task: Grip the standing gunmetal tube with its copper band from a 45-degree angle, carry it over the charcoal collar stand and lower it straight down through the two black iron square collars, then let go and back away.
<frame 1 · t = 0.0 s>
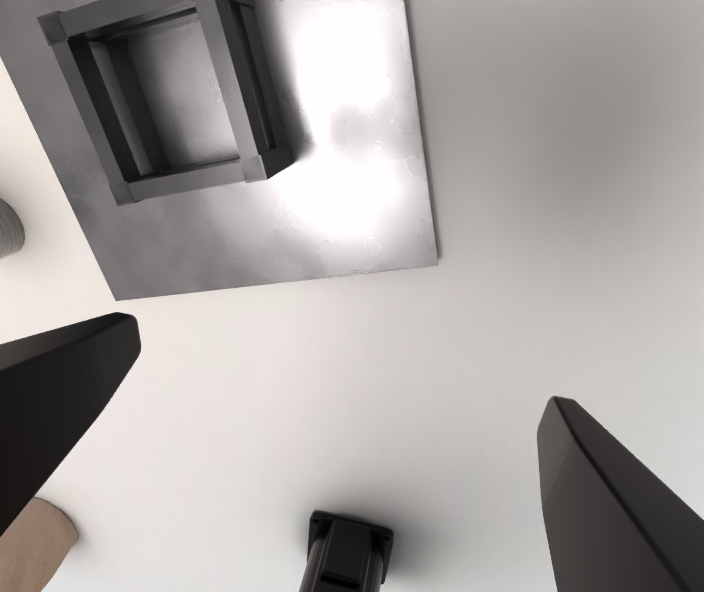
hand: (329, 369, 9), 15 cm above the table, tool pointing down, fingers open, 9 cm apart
collar stand: (208, 95, 22), on the table
figurine: (43, 518, 43), on the table
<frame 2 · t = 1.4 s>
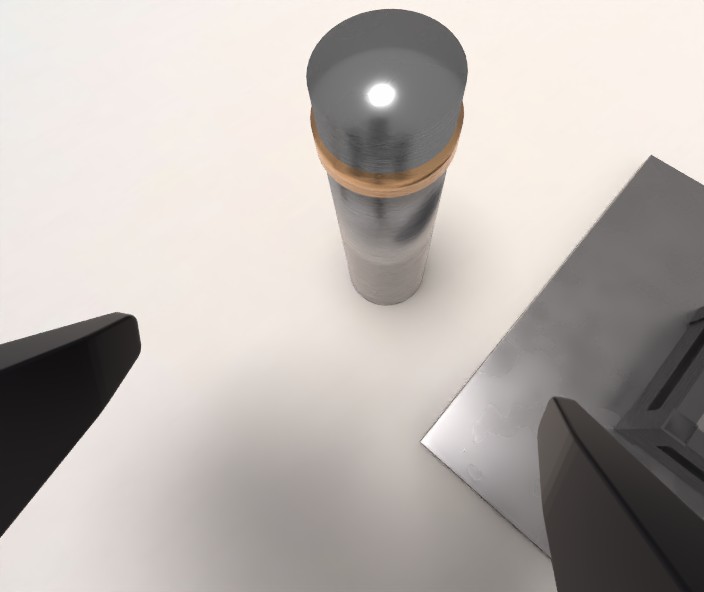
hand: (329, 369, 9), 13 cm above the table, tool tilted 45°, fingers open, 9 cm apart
air tube: (386, 270, 24), on the table
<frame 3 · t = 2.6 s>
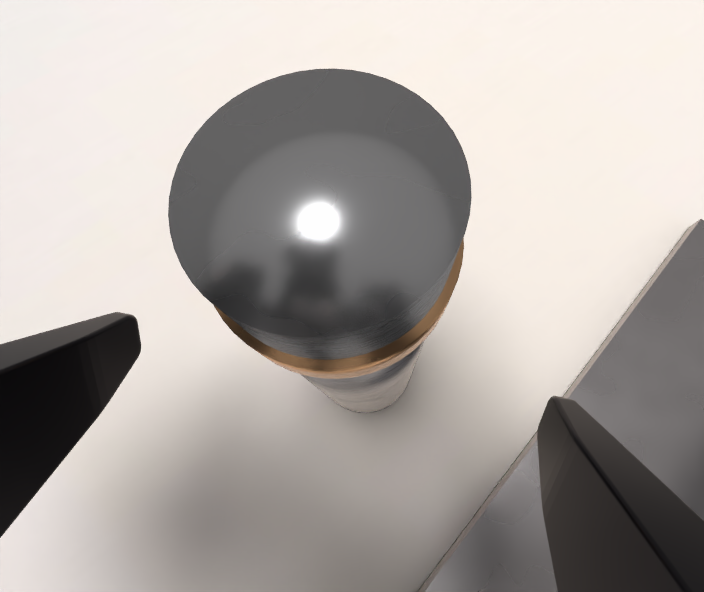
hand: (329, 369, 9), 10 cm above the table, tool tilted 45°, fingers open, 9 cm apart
air tube: (364, 364, 19), on the table
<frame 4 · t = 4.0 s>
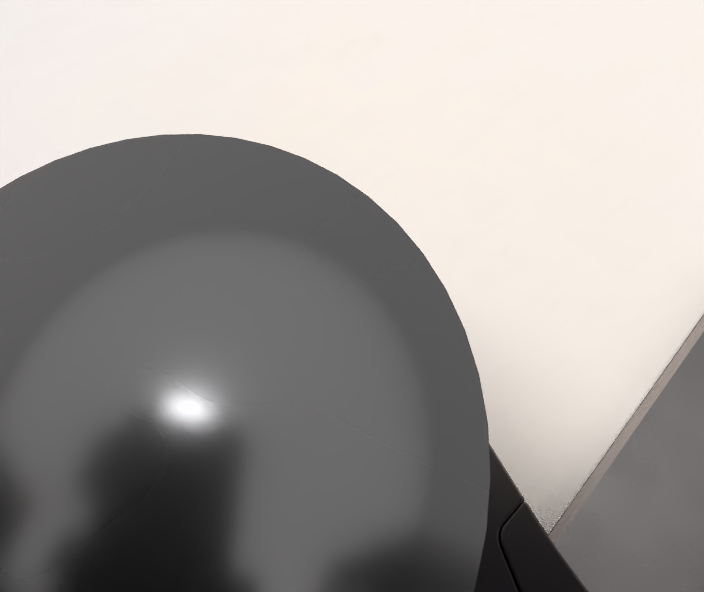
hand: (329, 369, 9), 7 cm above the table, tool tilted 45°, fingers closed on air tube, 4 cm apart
air tube: (345, 437, 16), on the table, touching gripper
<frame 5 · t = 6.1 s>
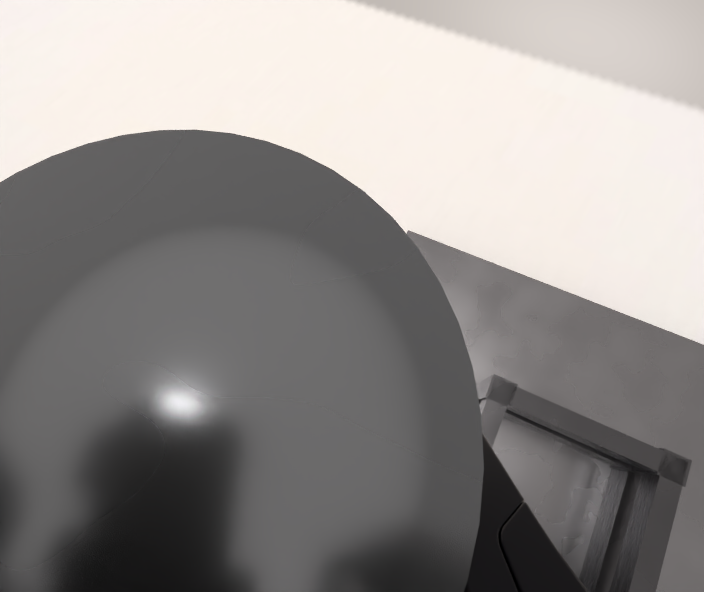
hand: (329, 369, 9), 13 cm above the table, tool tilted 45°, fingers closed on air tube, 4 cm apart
collar stand: (522, 496, 21), on the table
air tube: (344, 435, 16), point 6 cm above the table, touching gripper
when the fingers open (9 cm above the table, at t = 8.1 s): air tube stays where it is, resting on collar stand.
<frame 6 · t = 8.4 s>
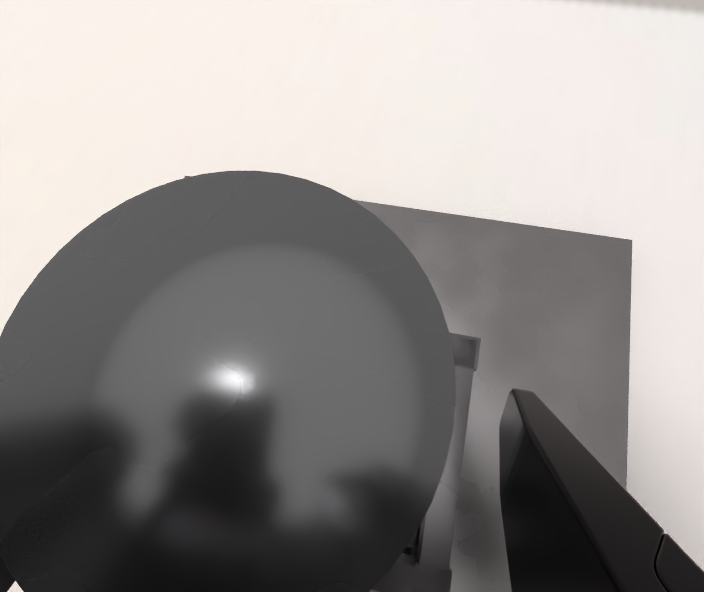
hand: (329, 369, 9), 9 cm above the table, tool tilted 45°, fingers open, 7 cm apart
collar stand: (350, 437, 18), on the table
air tube: (348, 438, 17), point 1 cm above the table, touching collar stand
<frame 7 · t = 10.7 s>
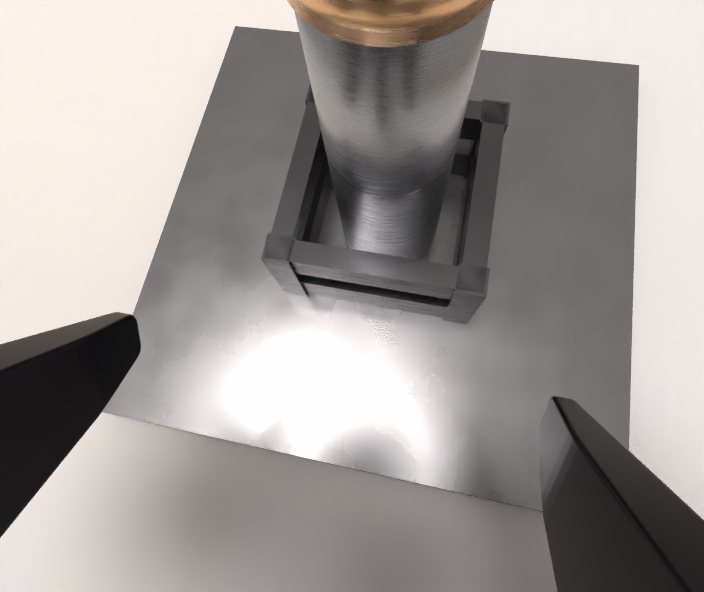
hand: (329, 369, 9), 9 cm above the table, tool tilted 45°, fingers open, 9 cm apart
collar stand: (389, 232, 20), on the table
air tube: (389, 225, 19), point 1 cm above the table, touching collar stand
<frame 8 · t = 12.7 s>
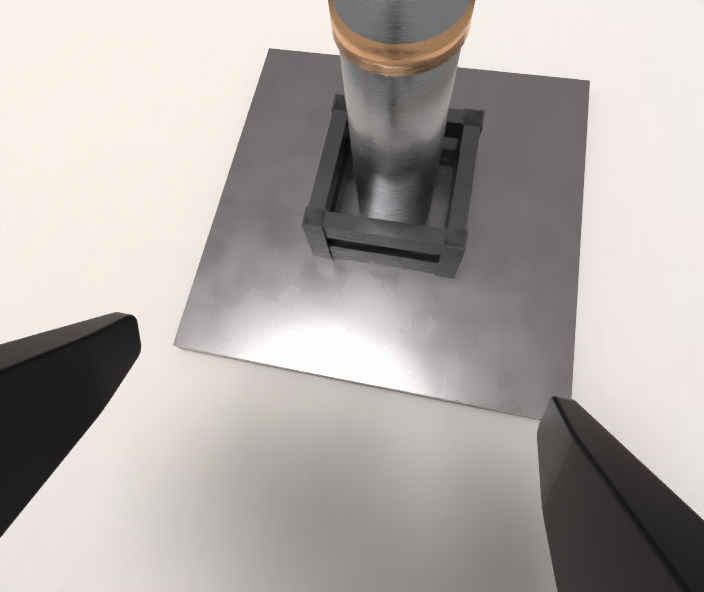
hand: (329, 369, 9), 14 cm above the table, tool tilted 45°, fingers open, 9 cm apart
collar stand: (394, 211, 26), on the table
air tube: (394, 205, 25), point 1 cm above the table, touching collar stand
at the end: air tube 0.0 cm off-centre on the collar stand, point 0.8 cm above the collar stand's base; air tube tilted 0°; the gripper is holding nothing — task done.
